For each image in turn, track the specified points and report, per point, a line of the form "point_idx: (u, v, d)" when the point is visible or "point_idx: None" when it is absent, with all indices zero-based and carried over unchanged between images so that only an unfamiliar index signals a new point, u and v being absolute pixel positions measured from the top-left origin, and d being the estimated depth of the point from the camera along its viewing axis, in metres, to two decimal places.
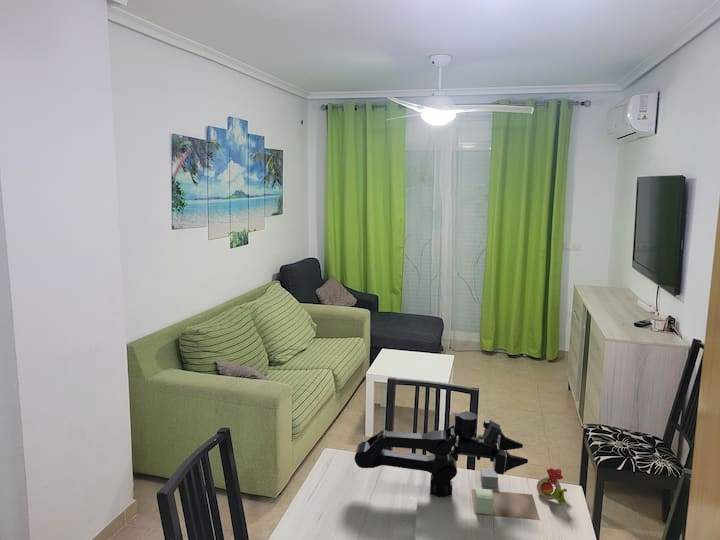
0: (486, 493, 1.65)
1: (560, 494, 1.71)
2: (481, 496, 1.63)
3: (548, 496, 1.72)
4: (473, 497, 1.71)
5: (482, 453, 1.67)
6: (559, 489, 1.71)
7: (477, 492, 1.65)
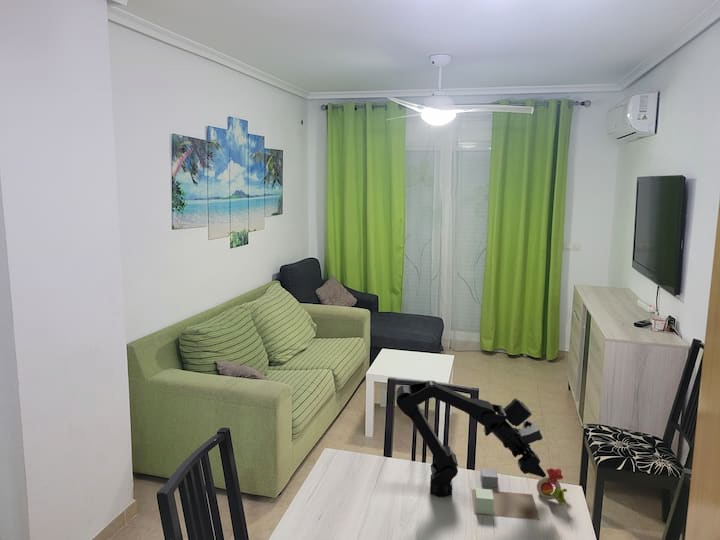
0: (486, 493, 1.65)
1: (560, 494, 1.71)
2: (481, 496, 1.63)
3: (548, 496, 1.72)
4: (473, 497, 1.71)
5: (513, 445, 1.67)
6: (559, 489, 1.71)
7: (477, 492, 1.65)
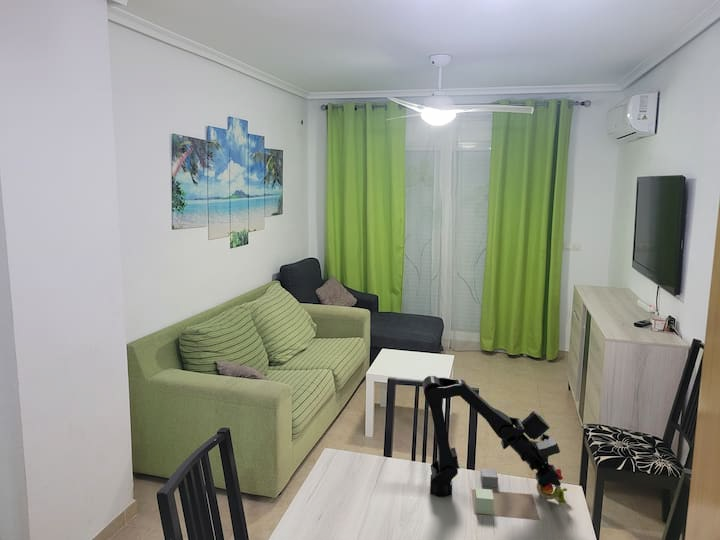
0: (486, 493, 1.65)
1: (560, 494, 1.71)
2: (481, 496, 1.63)
3: (548, 496, 1.72)
4: (473, 497, 1.71)
5: (531, 458, 1.68)
6: (559, 489, 1.70)
7: (477, 492, 1.65)
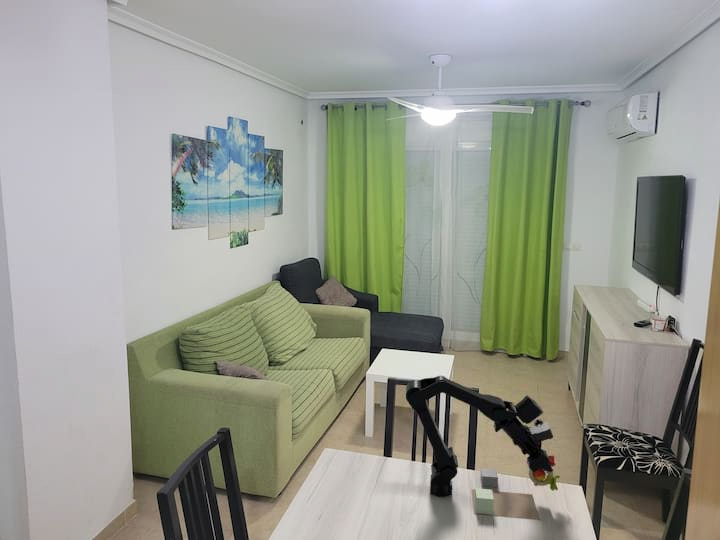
0: (486, 493, 1.65)
1: (552, 481, 1.68)
2: (481, 496, 1.63)
3: (540, 482, 1.69)
4: (473, 497, 1.71)
5: (523, 442, 1.65)
6: (551, 476, 1.68)
7: (477, 492, 1.65)
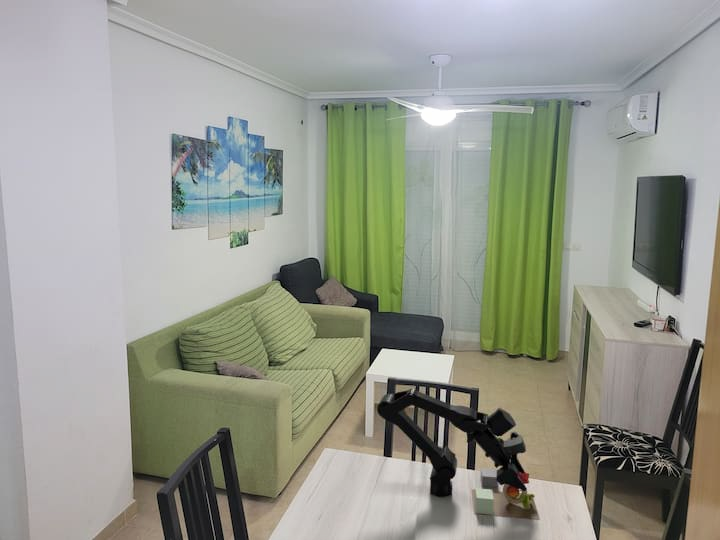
0: (486, 493, 1.65)
1: (526, 499, 1.66)
2: (481, 496, 1.63)
3: (514, 499, 1.67)
4: (473, 497, 1.71)
5: (494, 455, 1.64)
6: (525, 494, 1.66)
7: (477, 492, 1.65)
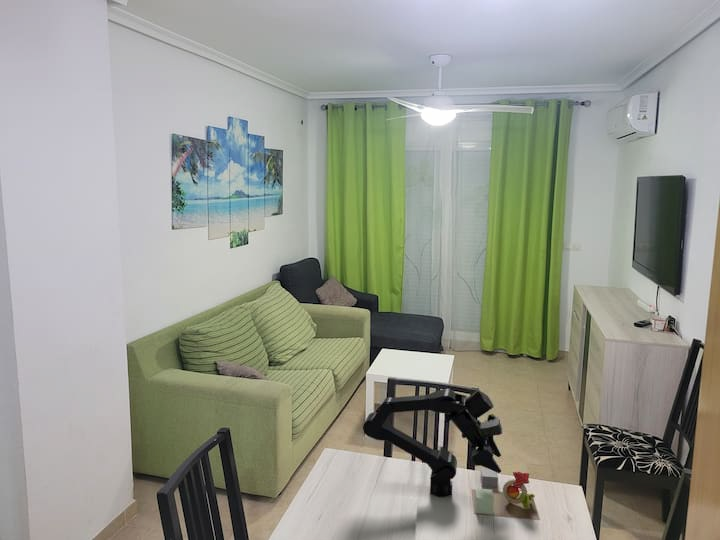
0: (486, 493, 1.65)
1: (526, 499, 1.66)
2: (481, 496, 1.63)
3: (514, 499, 1.67)
4: (473, 497, 1.71)
5: (470, 436, 1.66)
6: (525, 494, 1.66)
7: (477, 492, 1.65)
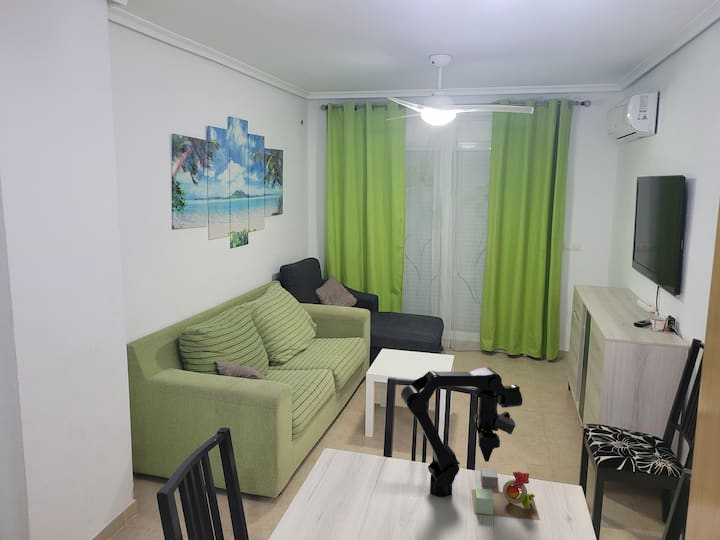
0: (486, 493, 1.65)
1: (526, 499, 1.66)
2: (481, 496, 1.63)
3: (514, 499, 1.67)
4: (473, 497, 1.71)
5: (487, 419, 1.70)
6: (525, 494, 1.66)
7: (477, 492, 1.65)
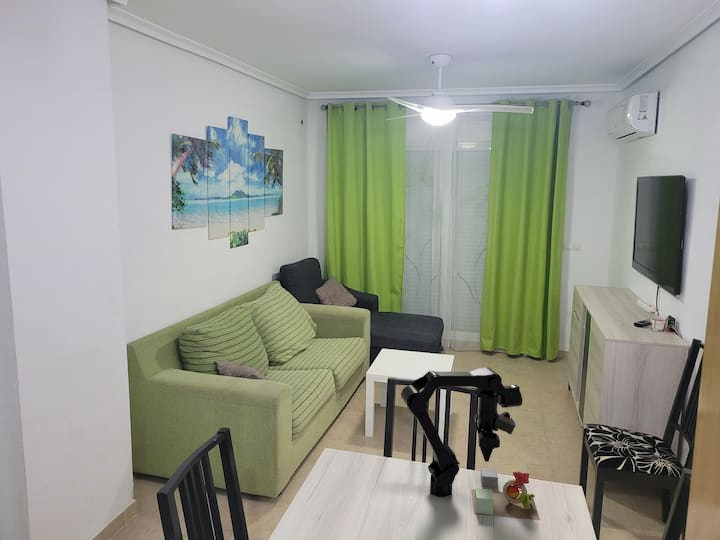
0: (486, 493, 1.65)
1: (526, 499, 1.66)
2: (481, 496, 1.63)
3: (514, 499, 1.67)
4: (473, 497, 1.71)
5: (487, 419, 1.70)
6: (525, 494, 1.66)
7: (477, 492, 1.65)
